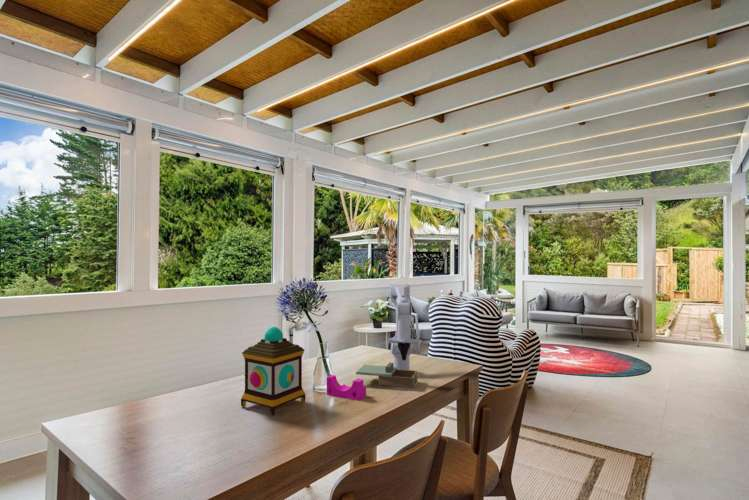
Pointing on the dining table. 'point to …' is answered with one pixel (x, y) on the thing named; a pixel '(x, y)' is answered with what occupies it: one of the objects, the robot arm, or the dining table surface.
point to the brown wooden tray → (399, 380)
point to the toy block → (346, 389)
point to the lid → (377, 370)
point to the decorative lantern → (273, 371)
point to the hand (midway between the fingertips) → (404, 359)
